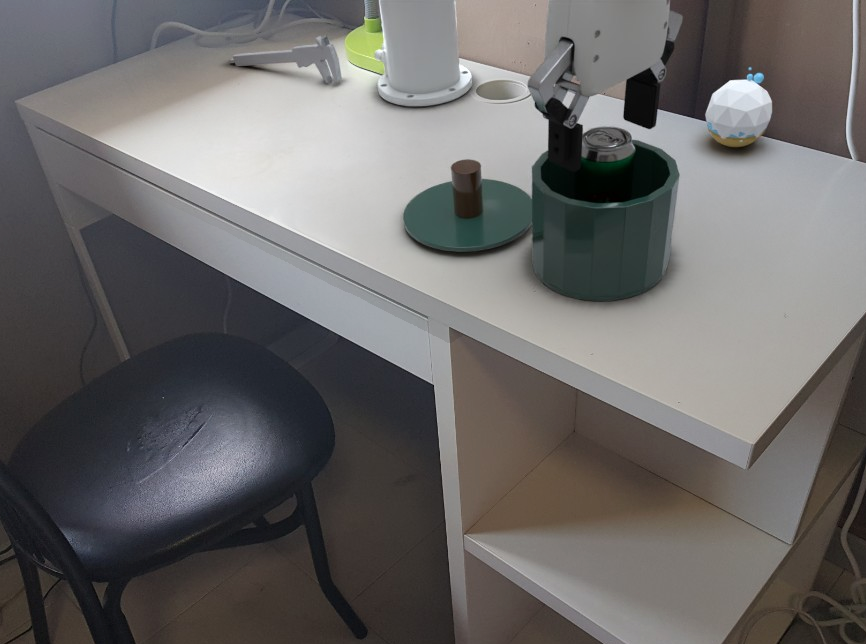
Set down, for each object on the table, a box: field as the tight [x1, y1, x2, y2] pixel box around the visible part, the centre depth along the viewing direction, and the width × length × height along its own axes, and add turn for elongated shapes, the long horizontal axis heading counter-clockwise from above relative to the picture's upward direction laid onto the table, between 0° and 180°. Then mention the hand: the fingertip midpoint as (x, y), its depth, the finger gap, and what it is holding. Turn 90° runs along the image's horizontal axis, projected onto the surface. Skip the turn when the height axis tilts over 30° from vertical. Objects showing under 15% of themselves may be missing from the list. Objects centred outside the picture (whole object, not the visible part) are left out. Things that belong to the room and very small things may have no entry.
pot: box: [531, 139, 680, 302], centre depth 77 cm, size 13×13×10 cm
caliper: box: [228, 35, 343, 84], centre depth 118 cm, size 20×1×6 cm, turn 58°
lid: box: [402, 158, 532, 253], centre depth 85 cm, size 14×14×6 cm
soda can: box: [574, 125, 635, 203], centre depth 75 cm, size 5×5×12 cm
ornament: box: [704, 66, 773, 148], centre depth 92 cm, size 7×7×8 cm
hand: (602, 144), depth 72 cm, fingers open, 9 cm apart
